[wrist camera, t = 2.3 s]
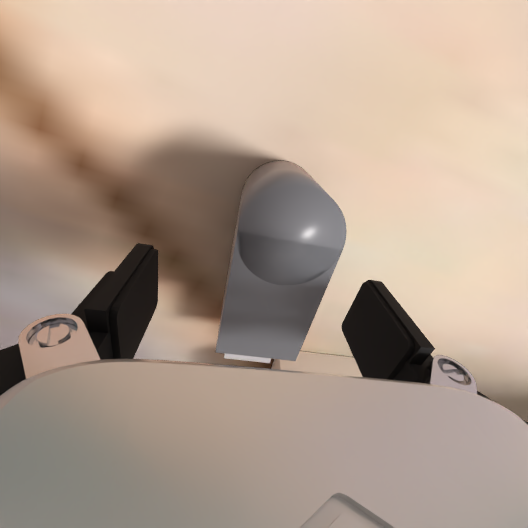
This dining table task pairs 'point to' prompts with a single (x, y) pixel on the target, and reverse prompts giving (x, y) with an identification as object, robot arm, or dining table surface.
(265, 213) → the grey plug
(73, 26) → the dining table surface
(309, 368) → the cream plug
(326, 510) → the robot arm
